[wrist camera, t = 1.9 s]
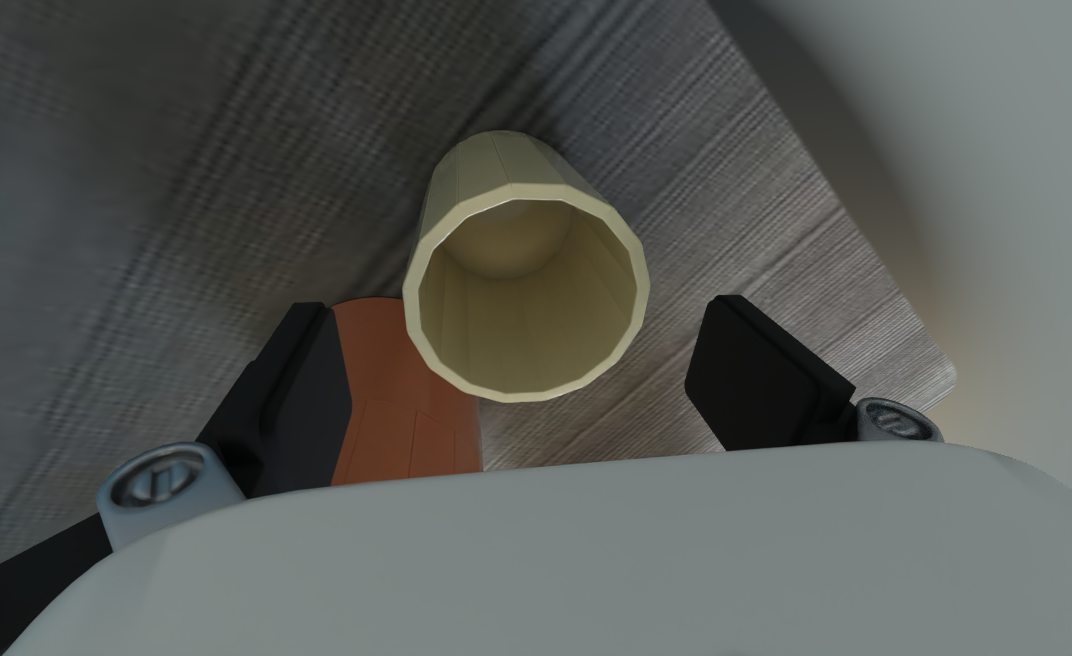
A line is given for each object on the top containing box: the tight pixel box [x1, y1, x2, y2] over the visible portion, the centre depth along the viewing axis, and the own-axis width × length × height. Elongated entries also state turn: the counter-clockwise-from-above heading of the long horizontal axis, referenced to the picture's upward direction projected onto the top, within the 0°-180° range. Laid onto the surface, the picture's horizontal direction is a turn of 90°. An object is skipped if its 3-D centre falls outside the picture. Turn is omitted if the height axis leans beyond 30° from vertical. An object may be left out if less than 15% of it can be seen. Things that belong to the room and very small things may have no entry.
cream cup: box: [402, 130, 651, 403], centre depth 16 cm, size 7×7×9 cm
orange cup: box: [330, 297, 484, 486], centre depth 18 cm, size 10×10×12 cm
